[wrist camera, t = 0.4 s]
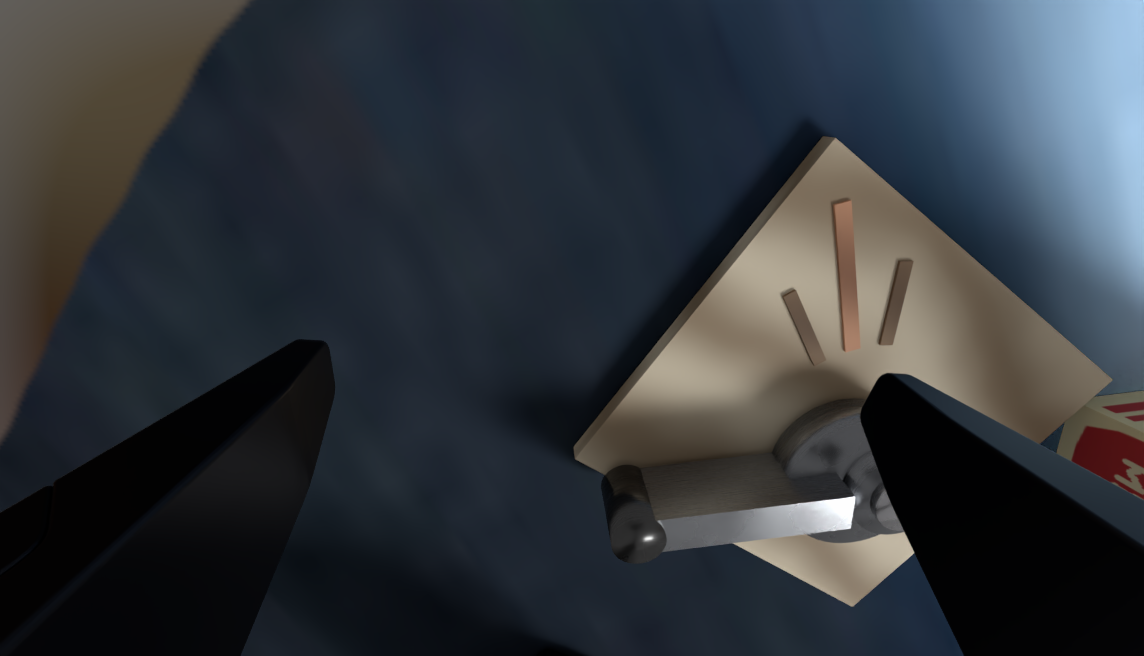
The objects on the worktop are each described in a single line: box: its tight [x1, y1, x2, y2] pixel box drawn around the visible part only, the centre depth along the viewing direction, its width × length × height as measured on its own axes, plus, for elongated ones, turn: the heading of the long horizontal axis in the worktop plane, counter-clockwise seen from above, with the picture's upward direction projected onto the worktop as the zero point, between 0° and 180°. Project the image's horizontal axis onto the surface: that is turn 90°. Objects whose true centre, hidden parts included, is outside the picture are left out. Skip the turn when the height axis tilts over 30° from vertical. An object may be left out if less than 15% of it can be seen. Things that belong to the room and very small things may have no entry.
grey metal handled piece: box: [601, 398, 904, 564], centre depth 25 cm, size 15×7×4 cm, turn 95°
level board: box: [574, 136, 1113, 607], centre depth 27 cm, size 18×20×1 cm
